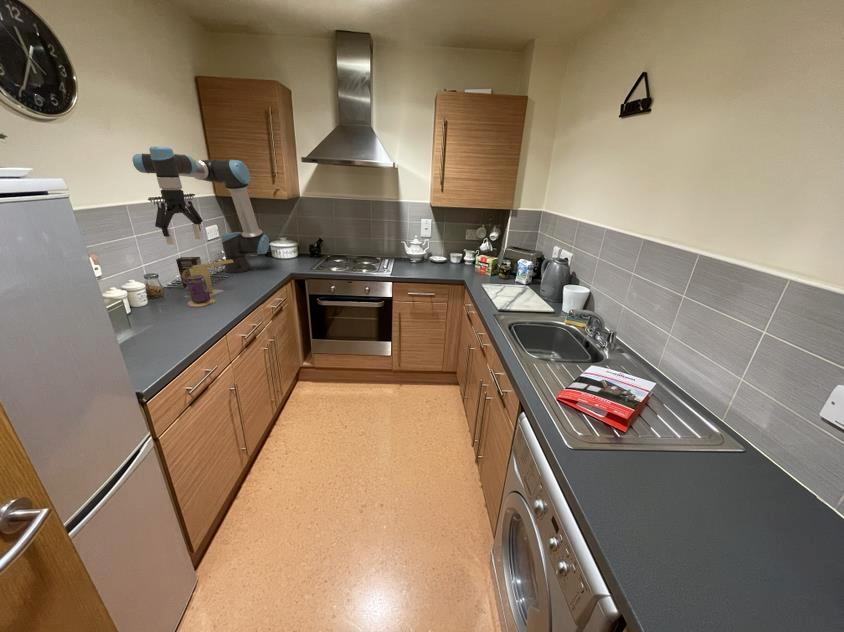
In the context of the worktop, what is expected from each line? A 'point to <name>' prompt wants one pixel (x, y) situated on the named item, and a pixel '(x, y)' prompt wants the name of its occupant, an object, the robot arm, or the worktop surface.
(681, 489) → the worktop surface
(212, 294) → the key plate
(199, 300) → the purple glass
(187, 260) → the coffee box
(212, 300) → the coaster
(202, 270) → the turnkey
